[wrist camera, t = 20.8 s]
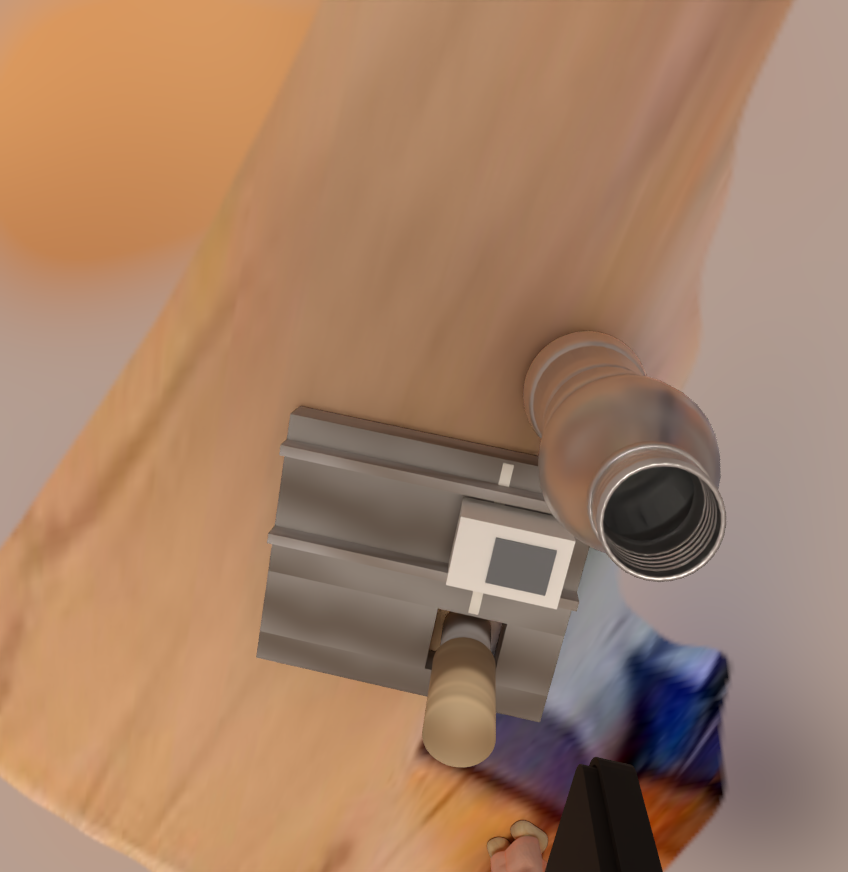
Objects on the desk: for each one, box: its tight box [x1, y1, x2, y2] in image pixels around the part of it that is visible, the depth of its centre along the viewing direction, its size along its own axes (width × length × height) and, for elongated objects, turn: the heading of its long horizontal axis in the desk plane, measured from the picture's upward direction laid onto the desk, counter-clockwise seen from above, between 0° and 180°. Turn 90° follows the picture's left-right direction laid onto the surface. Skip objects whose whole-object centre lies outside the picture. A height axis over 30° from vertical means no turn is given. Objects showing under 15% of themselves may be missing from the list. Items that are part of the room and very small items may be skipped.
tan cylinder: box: [422, 612, 496, 767], centre depth 39 cm, size 4×4×10 cm
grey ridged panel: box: [256, 406, 590, 722], centre depth 41 cm, size 16×18×3 cm
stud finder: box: [446, 497, 575, 609], centre depth 38 cm, size 4×6×3 cm, turn 79°
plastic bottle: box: [523, 331, 726, 582], centre depth 29 cm, size 6×7×20 cm
